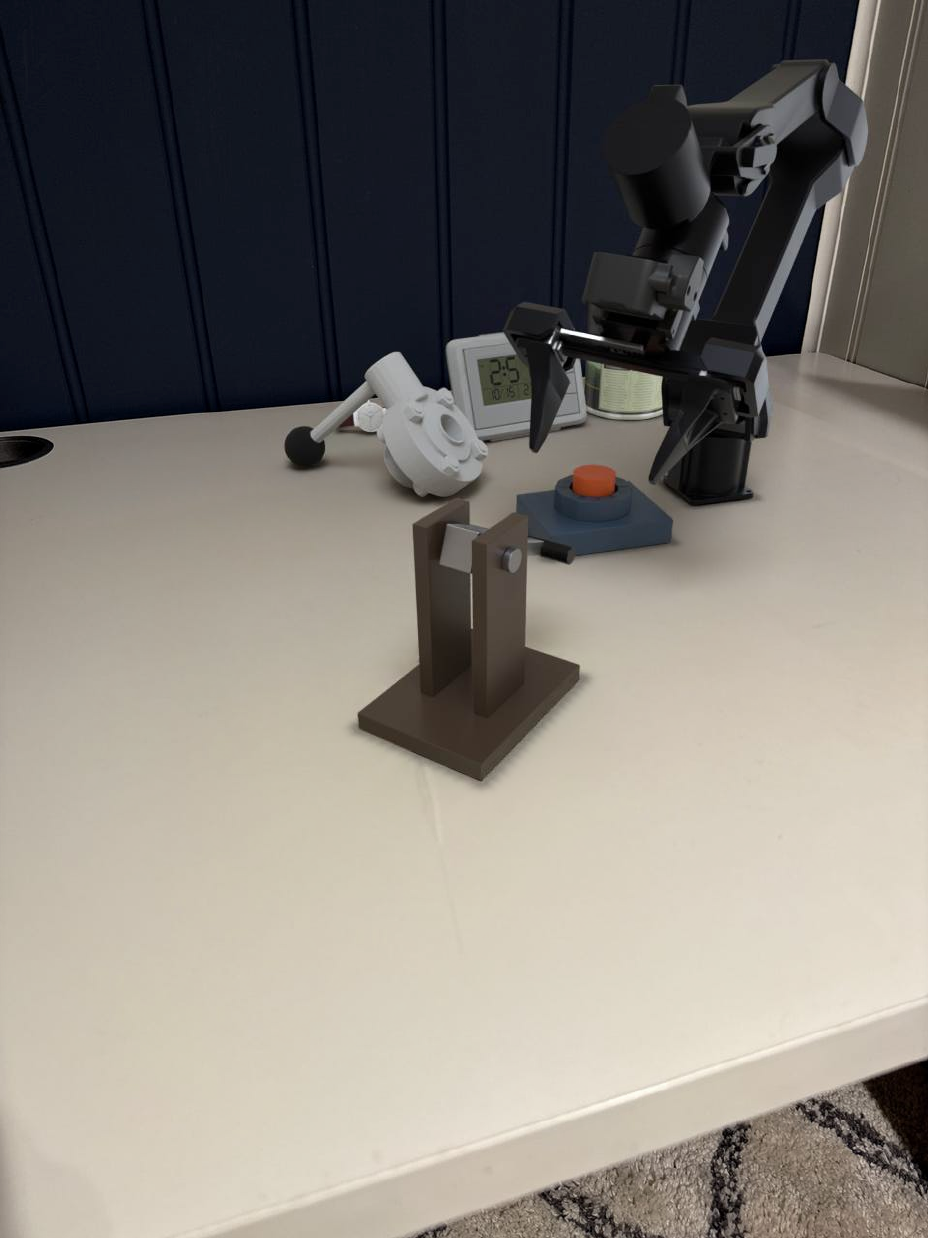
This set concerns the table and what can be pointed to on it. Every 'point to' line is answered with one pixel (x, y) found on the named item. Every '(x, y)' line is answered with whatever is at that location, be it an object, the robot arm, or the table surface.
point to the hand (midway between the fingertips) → (590, 466)
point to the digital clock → (503, 388)
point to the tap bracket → (470, 653)
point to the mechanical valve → (405, 431)
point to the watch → (366, 417)
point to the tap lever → (461, 535)
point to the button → (594, 480)
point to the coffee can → (620, 388)
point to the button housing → (595, 518)
